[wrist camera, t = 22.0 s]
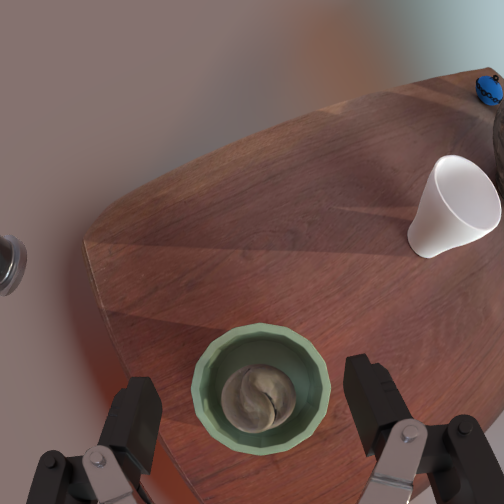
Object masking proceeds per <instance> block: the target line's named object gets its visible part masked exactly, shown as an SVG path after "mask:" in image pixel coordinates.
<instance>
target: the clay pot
mask: <svg viewBox="0 0 504 504" xmlns="http://www.w3.org/2000/svg"><path fill="white" fill-rule="evenodd" d="M493 145H494V153H495V159H496V165H497V173H496V181H497V186H498V189H499V191H500V193H501V195H502V197H503V198H504V100H503V101H502V103H501V104H500V106H499V108H498V110H497V113H496V117H495V120H494V126H493Z"/></svg>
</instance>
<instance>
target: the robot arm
mask: <svg viewBox="0 0 504 504" xmlns="http://www.w3.org/2000/svg"><path fill="white" fill-rule="evenodd" d="M14 262H15V247H14V245H13V243H12V242H11V241H9V240H8V239H5V238H4V237H3V236H1V235H0V285H2V284H3V283H4V282H5V281H6V280H7V279H8V277H9V275H10V274H11V271H12V269H13V266H14ZM343 388H344V393H345V397H346V399H347V402H348V405H349V408H350V411H351V413H352V416H353V419H354V422H355V425H356V428H357V431H358V433H359V436H360V439H361V442H362V445H363V448H364V451H365V454H366V457H368V456H372V455H375V457H376V460H377V462H376V464H375V467H374V469H373V471H372V473H371V475H370V477H369V479H368V481H367V483H366V485H365V487H364V489H363V491H362V493H361V495H360V497H359V499H358V500H357V502H356V504H407V503H408V501H409V499H410V496H411V493H412V490H413V485H412V483H413V480H414V477H415V474H421V473H427V476H428V478H429V481H430V484H431V487H432V490H433V494H434V497H435V500H436V503H437V504H504V474H503V472H502V470H501V468H500V465H499V463H498V461H497V459H496V457H495V455H494V453H493V451H492V449H491V447H490V445H489V443H488V441H487V439H486V437H485V435H484V433H483V431H482V429H481V427H480V425H479V423H478V422H477V420H476V419H475V418H473V417H472V416H470V415H458V416H456V417H454V418H453V419H452V420H451V421H450V423H449V424H445V425H433V426H428V425H424V424H423V423H422V422H420V421H418V420H415V419H414V418H413V417H412V416H411V414H410V412H409V410H408V408H407V406H406V404H405V402H404V400H403V398H402V396H401V394H400V393H399V391H398V389H397V388H396V385H395V383H394V381H393V379H392V377H391V376H390V374H389V372H388V370H387V369H386V368H384V367H383V366H382V365H381V364H379V363H375V364H371V363H370V361H369V359H368V357H367V355H366V354H359V355H354V356H350V357H347V358H346V363H345V372H344V380H343ZM161 416H162V402H161V399H160V397H159V395H158V393H157V391H156V389H155V387H154V385H153V383H152V381H151V379H150V378H149V377H131V378H130V380H129V383H128V386H127V389H123V388H122V389H121V390H120V391H119V392H118V393H117V394H116V396H115V397H114V399H113V402H112V405H111V408H110V410H109V413H108V416H107V419H106V421H105V424H104V427H103V430H102V433H101V436H100V439H99V442H98V444H97V446H94V447H91V448H89V449H88V450H87V451H86V452H85V454H84V455H83V456H75V457H65V456H64V455H63V454H62V453H60V452H59V451H56V450H51V451H47V452H46V453H44V454H43V455H42V456H41V458H40V460H39V463H38V466H37V469H36V472H35V475H34V478H33V482H32V485H31V488H30V492H29V495H28V499H27V503H26V504H97V503H98V501H99V503H100V504H155V503H154V502H153V501H152V499H151V497H150V496H149V494H148V493H147V491H146V490H145V488H144V486H143V485H142V483H141V482H140V476H141V474H147V475H150V472H151V466H152V461H153V456H154V451H155V445H156V440H157V435H158V430H159V425H160V420H161Z"/></svg>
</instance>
